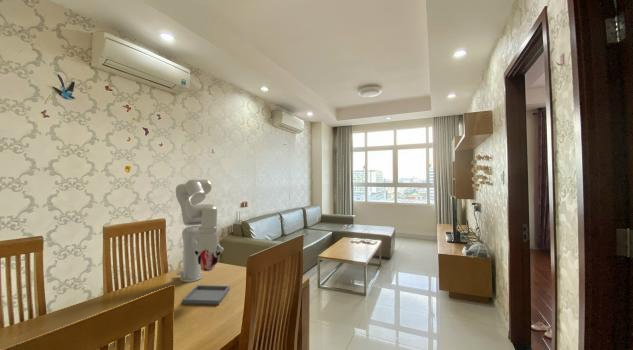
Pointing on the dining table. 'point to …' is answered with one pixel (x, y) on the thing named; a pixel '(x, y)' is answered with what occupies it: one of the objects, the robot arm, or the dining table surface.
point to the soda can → (207, 261)
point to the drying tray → (206, 295)
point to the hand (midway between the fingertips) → (207, 263)
